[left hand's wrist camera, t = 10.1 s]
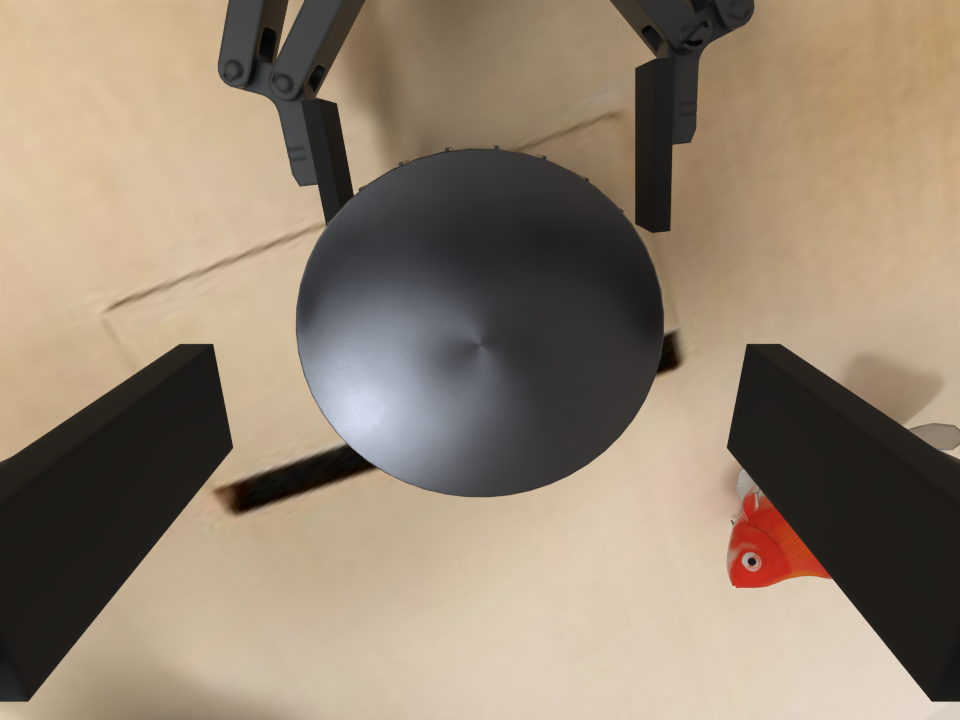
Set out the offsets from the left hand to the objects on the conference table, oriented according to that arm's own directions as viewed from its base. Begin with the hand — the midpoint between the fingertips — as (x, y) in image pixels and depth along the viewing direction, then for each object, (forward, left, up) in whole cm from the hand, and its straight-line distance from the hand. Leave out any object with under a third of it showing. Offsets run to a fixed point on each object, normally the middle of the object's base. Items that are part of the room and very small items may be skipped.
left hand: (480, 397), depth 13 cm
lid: (0, 0, -4) cm, 4 cm away
